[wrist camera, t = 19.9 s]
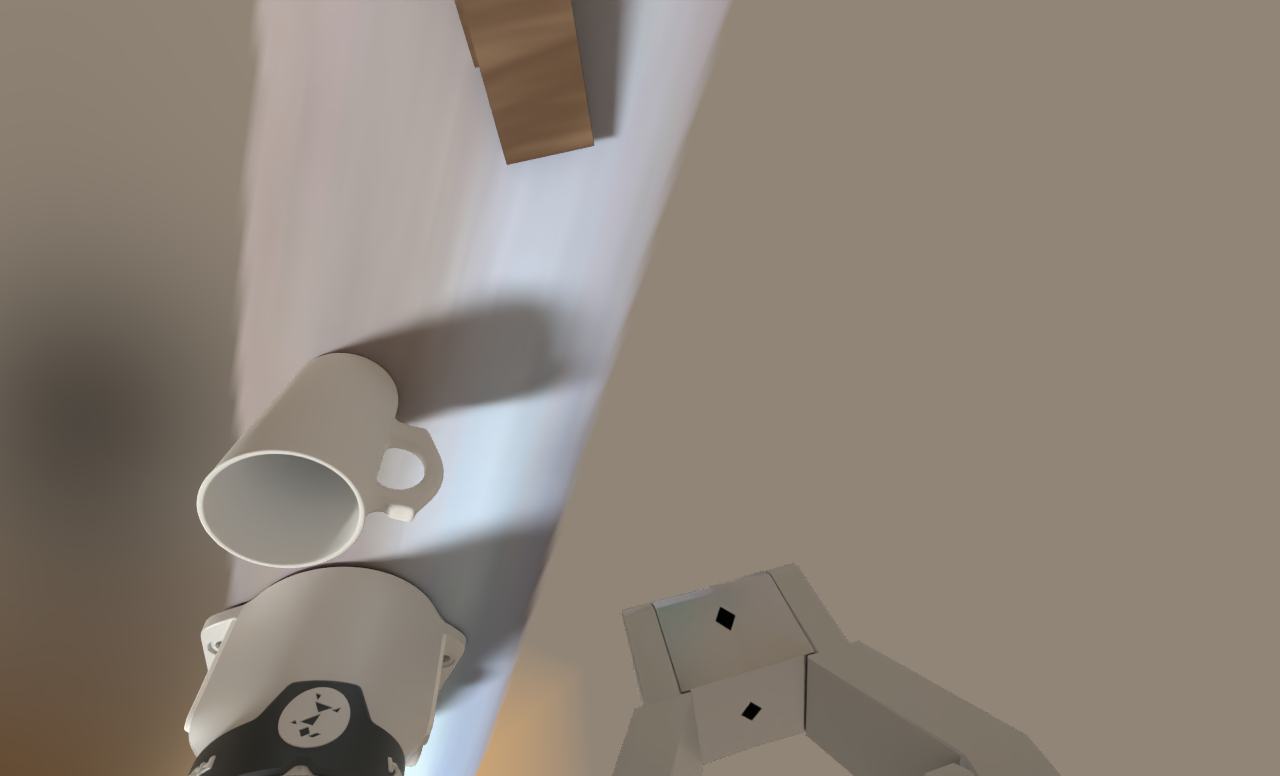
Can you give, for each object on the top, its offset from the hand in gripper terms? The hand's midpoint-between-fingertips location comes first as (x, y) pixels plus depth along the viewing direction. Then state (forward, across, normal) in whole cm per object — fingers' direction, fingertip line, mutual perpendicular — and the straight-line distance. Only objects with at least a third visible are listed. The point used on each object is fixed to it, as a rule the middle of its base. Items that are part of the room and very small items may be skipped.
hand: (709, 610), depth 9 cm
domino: (+28, -1, -6) cm, 29 cm away
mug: (+29, +14, +8) cm, 33 cm away
